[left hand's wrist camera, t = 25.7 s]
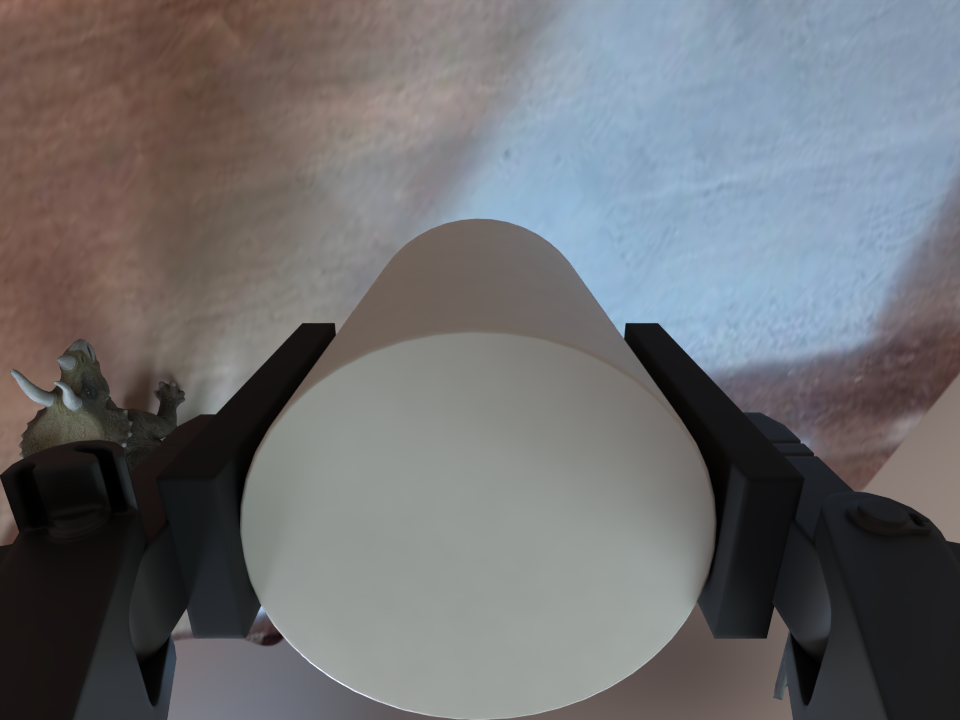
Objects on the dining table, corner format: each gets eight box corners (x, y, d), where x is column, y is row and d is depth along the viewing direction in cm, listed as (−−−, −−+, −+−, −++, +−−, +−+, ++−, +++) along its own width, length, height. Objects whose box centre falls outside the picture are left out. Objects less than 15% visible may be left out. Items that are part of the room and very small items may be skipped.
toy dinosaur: (304, 527, 49) (256, 633, 39) (221, 561, 50) (153, 672, 40) (147, 301, 42) (36, 357, 31) (55, 347, 43) (-81, 415, 33)
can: (344, 238, 16) (168, 370, 7) (580, 201, 16) (717, 289, 7) (393, 443, 19) (308, 741, 10) (598, 415, 19) (718, 696, 9)
